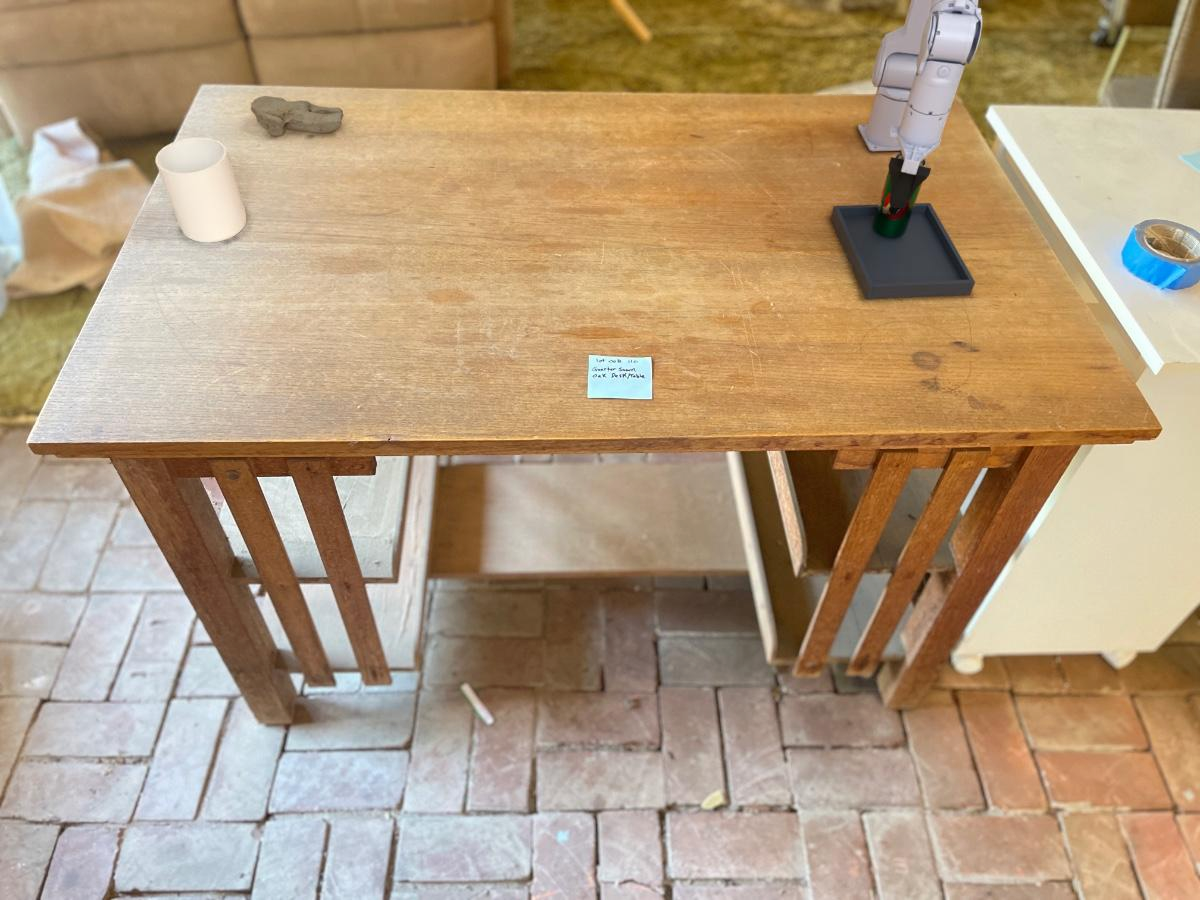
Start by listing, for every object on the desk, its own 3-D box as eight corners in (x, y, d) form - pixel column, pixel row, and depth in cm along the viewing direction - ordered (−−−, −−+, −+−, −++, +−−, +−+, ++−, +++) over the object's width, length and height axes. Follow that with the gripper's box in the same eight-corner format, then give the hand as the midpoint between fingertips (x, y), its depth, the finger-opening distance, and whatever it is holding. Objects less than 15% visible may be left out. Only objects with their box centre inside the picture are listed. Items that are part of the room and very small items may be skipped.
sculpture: (349, 121, 158) (261, 112, 157) (346, 96, 154) (255, 86, 153) (342, 145, 154) (250, 136, 153) (339, 120, 150) (245, 111, 149)
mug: (176, 246, 133) (149, 175, 124) (190, 199, 141) (165, 129, 132) (244, 243, 134) (221, 172, 125) (253, 196, 142) (233, 126, 133)
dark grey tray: (925, 215, 144) (930, 202, 142) (970, 295, 131) (975, 282, 129) (830, 218, 142) (833, 205, 140) (865, 299, 130) (869, 286, 128)
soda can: (911, 237, 138) (935, 167, 129) (881, 242, 137) (903, 171, 128) (895, 218, 141) (917, 148, 132) (865, 223, 140) (886, 152, 131)
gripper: (906, 74, 129) (881, 160, 139) (891, 124, 120) (865, 212, 130) (957, 84, 128) (928, 171, 138) (945, 135, 119) (915, 223, 129)
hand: (901, 192), depth 134 cm, fingers open, 7 cm apart
